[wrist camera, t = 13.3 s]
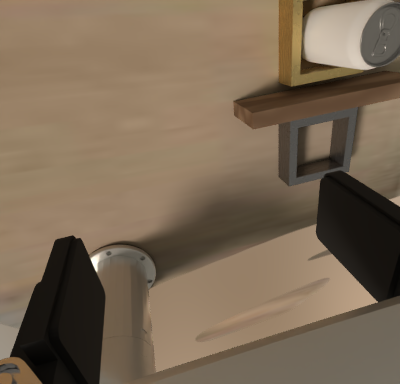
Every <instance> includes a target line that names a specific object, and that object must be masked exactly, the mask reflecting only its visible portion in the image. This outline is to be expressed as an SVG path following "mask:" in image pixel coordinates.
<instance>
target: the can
mask: <svg viewBox="0 0 400 384" xmlns="http://www.w3.org/2000/svg"><path fill="white" fill-rule="evenodd" d="M399 55H400V2H394V1H392V0H365V1H357V2H350V3H343V4H336V5H329V6H322V7H318V8H315V9H313V10H311V11H310V12H308V13H307V14H306V15H305V16H304V18H303V19H302V40H301V57H302V58H303V59H305V60H306V61H309V62H314V63H320V64H326V65H333V66H339V67H346V68H353V69H360V70H369V69H373V68H376V67H383V66H386V65H388V64H390V63H391V62H393V61H394V60H395V59H396V58H397V57H398V56H399Z"/></svg>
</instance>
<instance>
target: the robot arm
mask: <svg viewBox="0 0 400 384" xmlns="http://www.w3.org/2000/svg"><path fill="white" fill-rule="evenodd" d="M316 234H317V237H318V239H319V240H320V241H321V242H322V243H323V245H324V246H325V247H326V248H327V249H328V250H329V251H330V252H331V253H332V254H333V255H334V256H335V257H336V258H337V259H338V260H339V261H340V263H342V265H343V266H344V267H345V268H346V269H347V270H348V271H349V272H350V273H351V274H352V275H353V276H354V277H355V278H356V279H357V280H358V281H359V283H360V284H361V285H362V286H363V287H364V288H365V289H366V290H367V291H368V292H369V293H370V294H371V295H372V296H373V297H374V298H375V299H376V301H378V303H375V304H371V305H368V306H365V307H362V308H359V309H355V310H352V311H349V312H346V313H343V314H339V315H336V316H333V317H330V318H326V319H323V320H320V321H317V322H314V323H310V324H307V325H304V326H301V327H298V328H294V329H291V330H288V331H285V332H282V333H278V334H275V335H272V336H269V337H266V338H263V339H259V340H257V341H254V342H250V343H247V344H244V345H241V346H237V347H234V348H231V349H228V350H225V351H222V352H219V353H216V354H212V355H209V356H206V357H203V358H200V359H197V360H194V361H191V362H188V363H185V364H181V365H178V366H175V367H172V368H169V369H166V370H163V371H160V372H157V373H156V368H155V358H154V347H153V336H152V325H151V314H150V303H149V294H148V293H149V292H148V290H149V289H150V288H151V286H152V284H153V283H154V280H155V276H156V269H155V264H154V261H153V260H152V258H151V257H150V256H149V255H148V254H147V253H146V252H145V251H143V250H142V249H139V248H137V247H134V246H130V245H111V246H107V247H104V248H101V249H98V250H97V251H95V252H93V253H92V254H91V255H88V252H87V250H86V248H85V246H84V244H83V241H82V240H81V238H77V239H76V238H75V237H74V236H73V235H72V236H68V237H64V238H60V239H57V240H55V242H54V245H53V248H52V251H51V254H50V257H49V260H48V263H47V266H46V269H45V272H44V275H43V278H42V281H41V282H39V283H38V284H36V286H35V288H34V291H33V294H32V296H31V299H30V302H29V305H28V308H27V310H26V313H25V316H24V319H23V322H22V324H21V327H20V330H19V333H18V336H17V338H16V341H15V344H14V347H13V349H12V352H11V355H10V357H9V358H5V359H2V360H0V384H400V207H399V206H398V205H396V204H394V203H393V202H391V201H390V200H388V199H386V198H385V197H383V196H382V195H380V194H378V193H377V192H375V191H374V190H372V189H371V188H369V187H367V186H366V185H364V184H363V183H361V182H359V181H358V180H356V179H355V178H353V177H351V176H350V175H348V174H347V173H345V172H343V171H341V170H338V171H334V172H330V173H326V174H325V175H324V178H322V179H321V181H320V191H319V203H318V214H317V226H316Z"/></svg>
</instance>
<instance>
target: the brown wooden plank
mask: <svg viewBox="0 0 400 384" xmlns="http://www.w3.org/2000/svg"><path fill="white" fill-rule="evenodd" d="M397 98H400V73H397V72H390V71H382V72H377V73H372V74H367V75H362V76H357V77H352V78H347V79H342V80H337V81H332V82H327V83H322V84H317V85H312V86H307V87H302V88H297V89H292V90H287V91H283V92H278V93H273V94H268V95H263V96H258V97H253V98H248V99H243V100H238V101H233V102H234V115H235V116H236V117H237V118H239V119H240V120H241V121H243V122H244V123H245V124H247V125H248V126H249V127H251V128H252V129H257V128H262V127H267V126H271V125H276V124H281V123H285V122H290V121H295V120H299V119H304V118H308V117H313V116H318V115H322V114H327V113H332V112H336V111H341V110H346V109H350V108H355V107H360V106H364V105H369V104H373V103H378V102H383V101H387V100H392V99H397Z"/></svg>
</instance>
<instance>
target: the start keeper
mask: <svg viewBox="0 0 400 384" xmlns="http://www.w3.org/2000/svg"><path fill="white" fill-rule="evenodd" d="M357 111H358V107H355V108H350V109H346V110H341V111H336V112H332V113H327V114H322V115H318V116H313V117H308V118H304V119H299V120H295V121H290V122H285V123H281V124H279V178H280V179H282V180H283V181H284V182H285V183H286V184H287V185H288V186H292V185H297V184H301V183H305V182H309V181H313V180H317V179H321V178H324V175H325V174H326V173H330V172H334V171H338V170H341V171H343V172H349V167H350V160H351V153H352V146H353V139H354V132H355V125H356V118H357ZM332 120H333V128H332V138H331V148H330V158H329V159H325V160H320V161H316V162H312V163H308V164H304V165H299V166H297V146H298V128H300V127H305V126H309V125H314V124H318V123H323V122H327V121H332Z"/></svg>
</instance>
